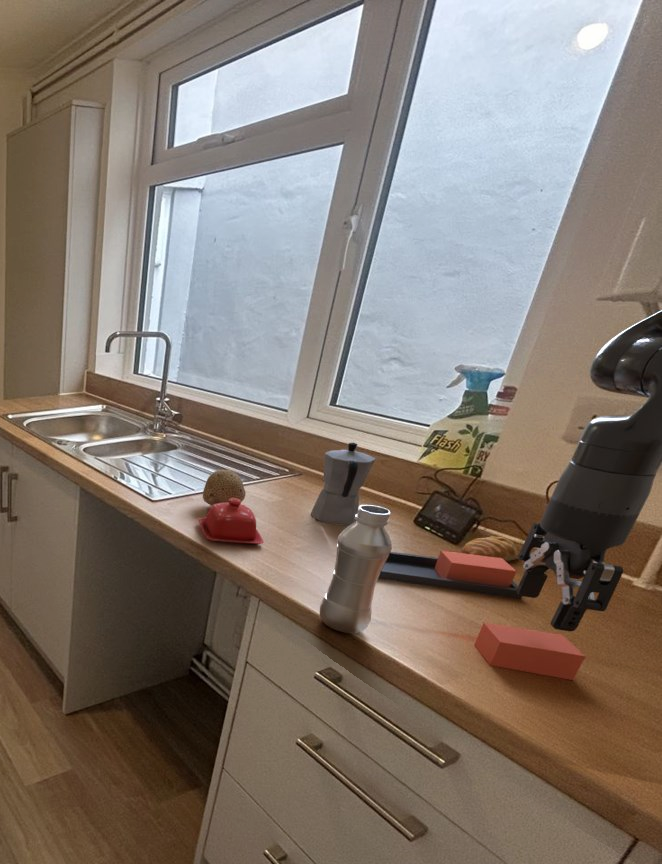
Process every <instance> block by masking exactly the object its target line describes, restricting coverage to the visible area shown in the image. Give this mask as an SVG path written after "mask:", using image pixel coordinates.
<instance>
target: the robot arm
mask: <svg viewBox="0 0 662 864" xmlns="http://www.w3.org/2000/svg"><path fill="white" fill-rule="evenodd" d="M589 378H590V380H591V382H592V383H593V385H595V386H596V387H597V388H598V389H600V390H603V391H606V392H609V393H615V394H621V395H628V396H634V397H640V398H647V400H646V401H645V403H644V404H643V405H642V406H640V407H639V408H638V409H637V410H636V411H634V412H633V413H632V414H607V415H600V416H597V417H595V418H593V419H591V420H590V421H588V423H587V424H586V426H585V427H584V429H583V431H582V434H581V436H580V438H579V440H578V442H577V445H576V447H575V449H574V450H573V454H572V456H571V458H570V461H569V462H568V464H567V466H566V467H565V468H564V470H563V472H562V473H561V475H560V477H559V479H558V481H557V483H556V486H554V487H555V488H554V490H553V492H552V495H551V496H550V499H549V501H548V503H547V506H546V508H545V510H544V512H543V515H542V516H541V519H540V521H539V522H534V523H533V524H532V525H531V528H530V530H529V531H528V534H527V536H526V539H525V541H524V542H523V544H522V546H521V549H520V551H519V553H518V558H517V559H518V560H519V561H521V562H523V563H522V568H523V570H524V572H523V575H522V577H521V579H520V581H519V583H518V588H517V590H516V592H517V593H518V594H519V595H520V596H522V597H524V598H532V599H536V598H538V597H539V596H540V594H541V592H542V589H543V587H544V586H545V583H546V581H547V578H548V577H549V575H548V574H549V573H550V572H552V571H553V573H554V574H555V575H556V584H557V586H559V587H560V588H561V599H562V600H561V601H560V602H559V604H558V606H557V608H556V610H555V613H554V615H553V616H552V619H551V621H550V626H551V627H552V628H553V629H554V630H558V631H564V632H574V631H576V629H577V628H578V627H579V625H580V623H581V621H582V619H583V617H584V615H585V613H586V612H587V610H590V611H596V612H605V611H606V610H607V608H608V605H609V603H610V602H611V599H612V597H613V595H614V593H615V591H616V588H617V587H618V584H619V582H620V580H621V578H622V576H623V574H624V568H623V567H622V566H620V565H616V564H615V565H614V564H610V563H608V562H605V556H606V553H607V550H609V549H610V548H614V547H619V546H622V545H624V544H625V543H626V541H627V539H628V537H629V535H630V533H631V532H632V530H633V527H634V525H635V524H636V522H637V520H638V518H639V516H640V514H641V512H642V510H643V508H644V507H645V505H646V502H647V501H648V499H649V497H650V494H651V492H652V489H653V484H654V482H655V478H656V476H657V473H658V472H659V469H661V466H662V309H661V310H660V311H657V312H656V313H654V314H652V315H650V316H648V317H646V318H644V319H642V320H640V321H638V322H637V323H635V324H632V325H631V326H630V327H628V328H626V329H625V330H622V331H621V332H619V333H618V334H617V335H615V336H614V337H613V338H611V339H610V340H609V341H608V342H606V343H605V345H603V346H602V347H601V349H599V351H597V353H596V355H595V356H594V358H593V359H592V362H591V364H590V368H589ZM535 548H536V550H535V551H533V552H532V550H533V549H535ZM547 573H548V574H547ZM580 579H582V580H580ZM575 589H577V592H576V594H575ZM596 593H597V594H598V595H597V597H596V599H595V594H596Z"/></svg>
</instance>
